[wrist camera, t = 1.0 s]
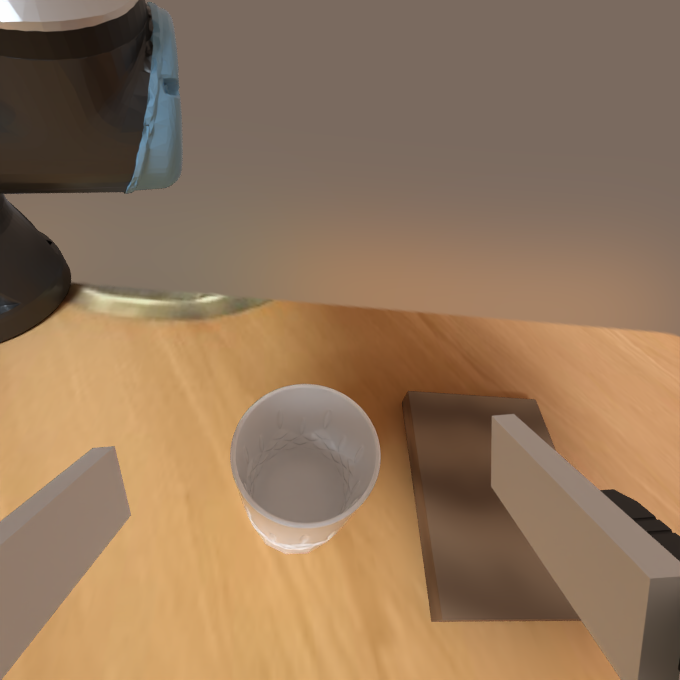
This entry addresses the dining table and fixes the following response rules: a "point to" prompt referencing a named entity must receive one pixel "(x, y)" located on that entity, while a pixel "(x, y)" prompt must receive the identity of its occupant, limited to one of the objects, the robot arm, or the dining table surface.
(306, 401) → the white cup
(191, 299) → the dining table surface
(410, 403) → the walnut board
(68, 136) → the robot arm
